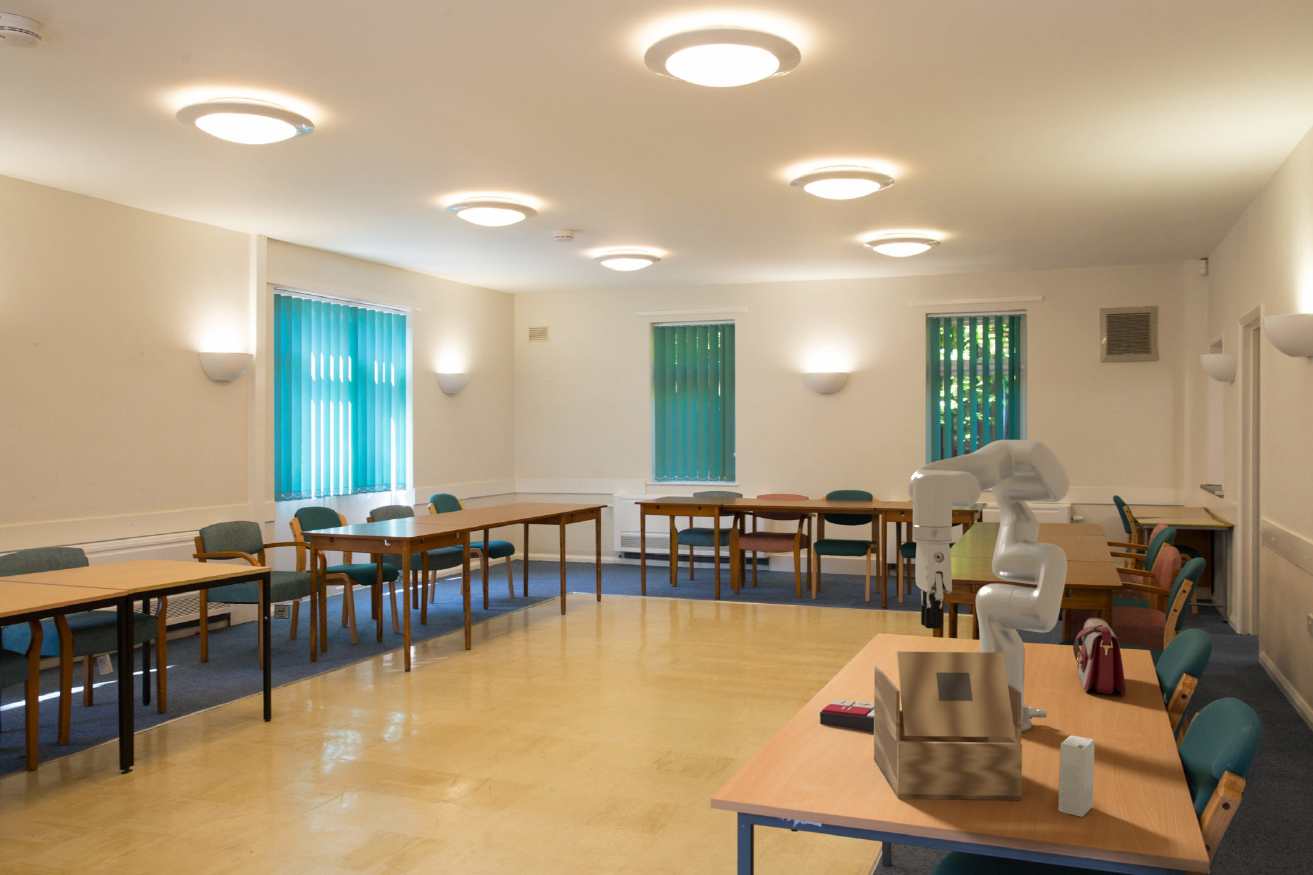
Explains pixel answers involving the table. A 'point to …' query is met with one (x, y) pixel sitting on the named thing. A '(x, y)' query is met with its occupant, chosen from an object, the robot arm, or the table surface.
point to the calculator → (849, 715)
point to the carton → (944, 755)
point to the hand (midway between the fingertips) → (931, 625)
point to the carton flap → (955, 694)
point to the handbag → (1099, 658)
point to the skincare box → (1076, 775)
